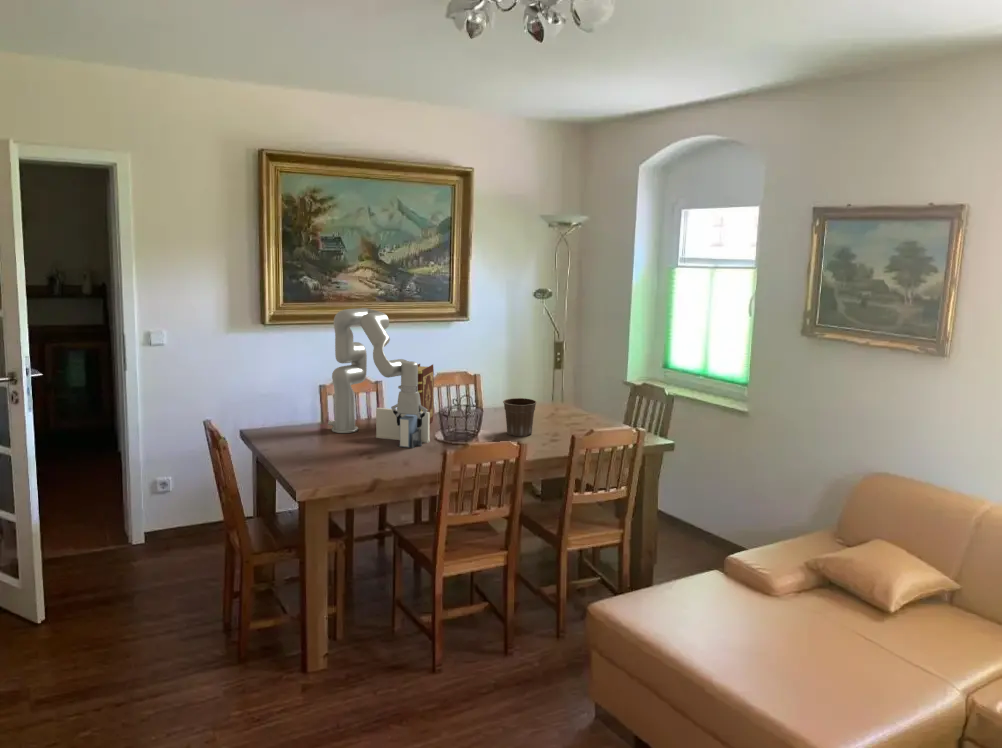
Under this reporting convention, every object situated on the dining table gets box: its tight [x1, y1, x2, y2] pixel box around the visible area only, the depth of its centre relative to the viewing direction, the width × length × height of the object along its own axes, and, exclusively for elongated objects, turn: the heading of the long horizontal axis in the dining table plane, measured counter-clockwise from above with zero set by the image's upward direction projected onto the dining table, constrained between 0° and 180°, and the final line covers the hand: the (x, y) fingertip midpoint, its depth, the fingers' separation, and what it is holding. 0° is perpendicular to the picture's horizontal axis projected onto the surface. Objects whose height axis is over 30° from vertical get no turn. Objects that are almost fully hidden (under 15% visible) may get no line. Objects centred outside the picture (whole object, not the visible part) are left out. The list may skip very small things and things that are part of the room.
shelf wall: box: [375, 407, 431, 444], centre depth 359 cm, size 26×3×14 cm, turn 74°
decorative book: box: [417, 363, 435, 424], centre depth 385 cm, size 22×8×30 cm, turn 168°
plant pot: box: [502, 397, 538, 437], centre depth 375 cm, size 16×16×16 cm
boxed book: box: [399, 414, 418, 448], centre depth 350 cm, size 4×11×13 cm, turn 164°
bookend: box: [397, 429, 423, 449], centre depth 351 cm, size 10×10×6 cm
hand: (409, 425), depth 350 cm, fingers open, 9 cm apart
